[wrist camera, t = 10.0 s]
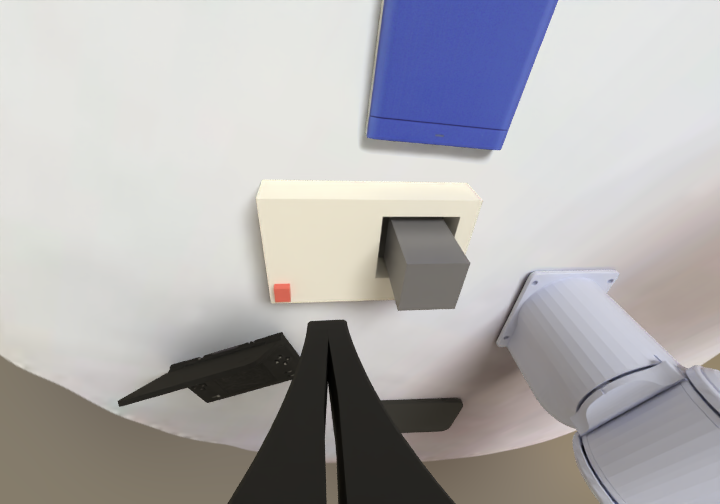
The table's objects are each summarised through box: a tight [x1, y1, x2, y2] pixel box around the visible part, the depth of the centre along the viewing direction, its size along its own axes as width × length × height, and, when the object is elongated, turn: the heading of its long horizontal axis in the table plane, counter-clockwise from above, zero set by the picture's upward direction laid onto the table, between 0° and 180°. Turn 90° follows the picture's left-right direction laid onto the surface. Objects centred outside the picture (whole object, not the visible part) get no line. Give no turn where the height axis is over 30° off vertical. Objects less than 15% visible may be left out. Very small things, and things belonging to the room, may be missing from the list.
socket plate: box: [256, 180, 483, 303], centre depth 21 cm, size 8×13×3 cm, turn 87°
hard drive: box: [365, 0, 558, 150], centre depth 15 cm, size 2×8×12 cm
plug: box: [384, 217, 470, 311], centre depth 20 cm, size 3×3×6 cm
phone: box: [381, 398, 463, 433], centre depth 39 cm, size 7×1×15 cm
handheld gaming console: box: [118, 332, 300, 407], centre depth 27 cm, size 12×7×10 cm
